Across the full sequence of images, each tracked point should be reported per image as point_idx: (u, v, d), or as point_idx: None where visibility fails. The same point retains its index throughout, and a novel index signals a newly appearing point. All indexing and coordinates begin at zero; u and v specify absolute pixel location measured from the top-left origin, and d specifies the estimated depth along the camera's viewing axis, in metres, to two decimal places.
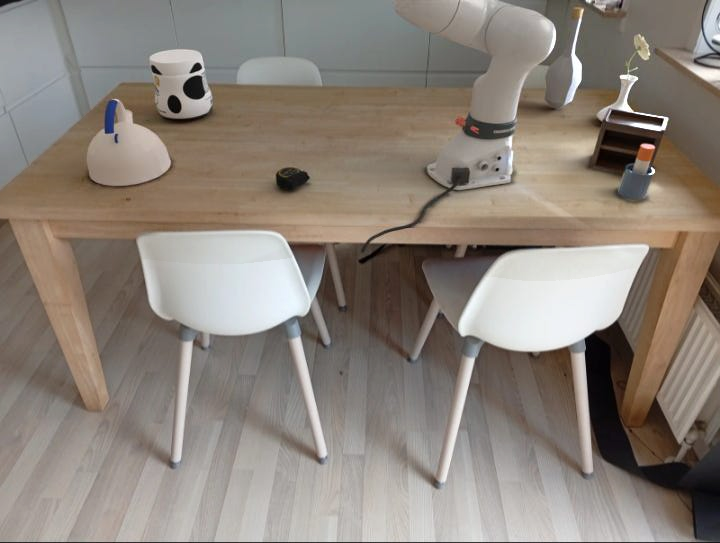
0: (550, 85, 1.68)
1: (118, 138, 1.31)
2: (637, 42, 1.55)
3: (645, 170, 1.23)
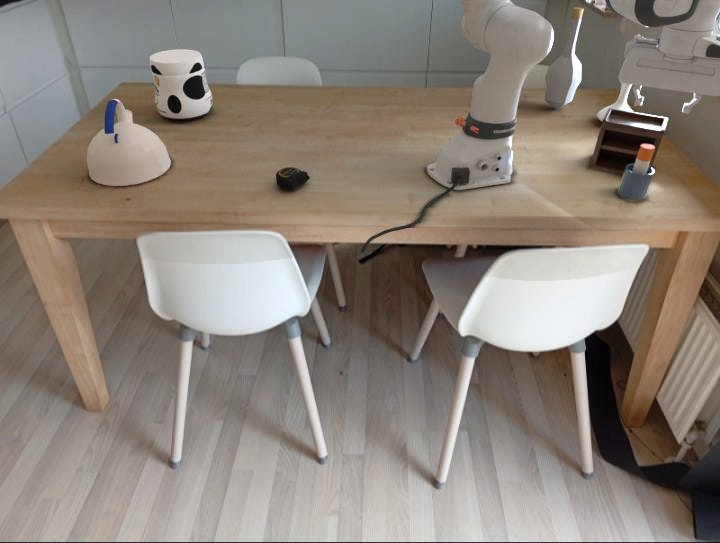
0: (550, 85, 1.68)
1: (118, 138, 1.31)
2: None
3: (645, 170, 1.23)
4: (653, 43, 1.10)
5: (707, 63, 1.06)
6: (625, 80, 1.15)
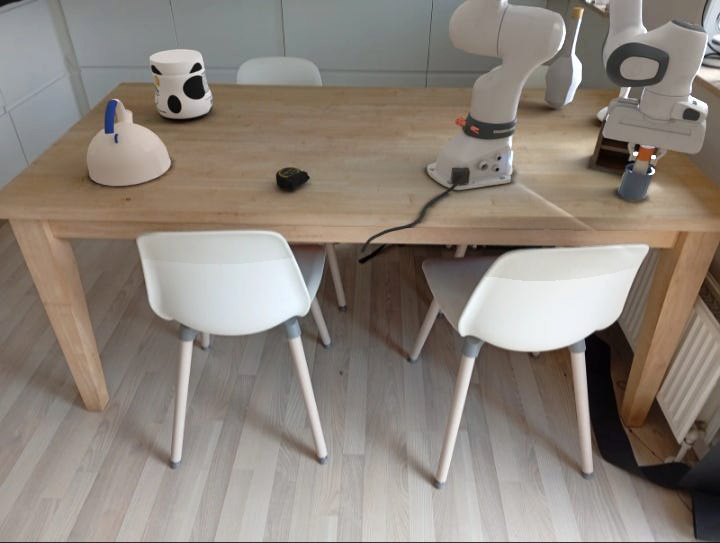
0: (550, 85, 1.68)
1: (118, 138, 1.31)
2: None
3: (645, 170, 1.23)
4: (634, 103, 1.18)
5: (684, 124, 1.13)
6: (609, 135, 1.22)
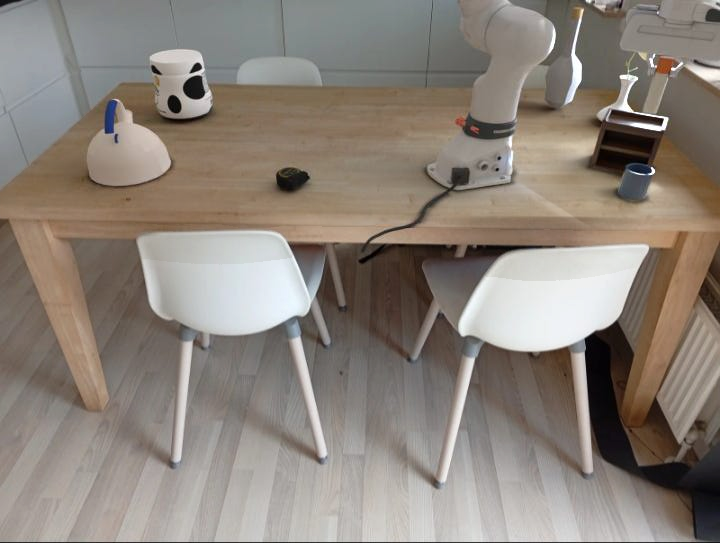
0: (550, 85, 1.68)
1: (118, 138, 1.31)
2: None
3: (664, 84, 1.18)
4: (654, 9, 1.12)
5: (706, 28, 1.08)
6: (626, 47, 1.17)
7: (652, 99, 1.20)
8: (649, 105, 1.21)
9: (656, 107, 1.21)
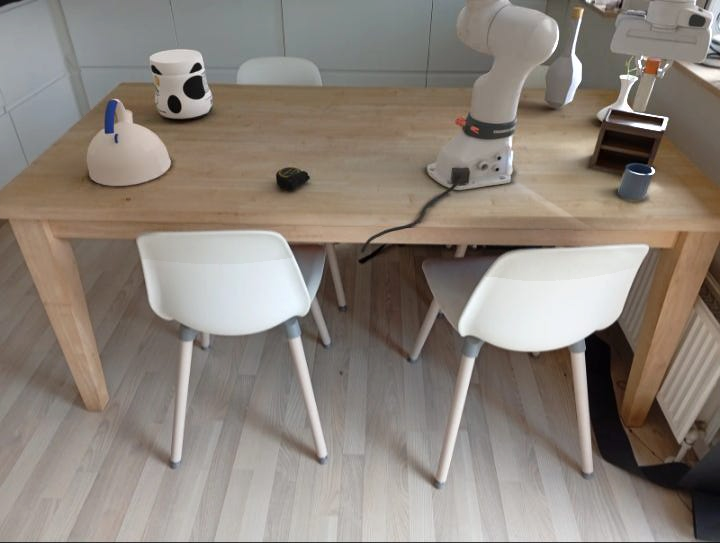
0: (550, 85, 1.68)
1: (118, 138, 1.31)
2: None
3: (651, 84, 1.27)
4: (641, 15, 1.21)
5: (690, 32, 1.17)
6: (616, 49, 1.26)
7: (641, 97, 1.29)
8: (638, 103, 1.30)
9: (644, 106, 1.30)
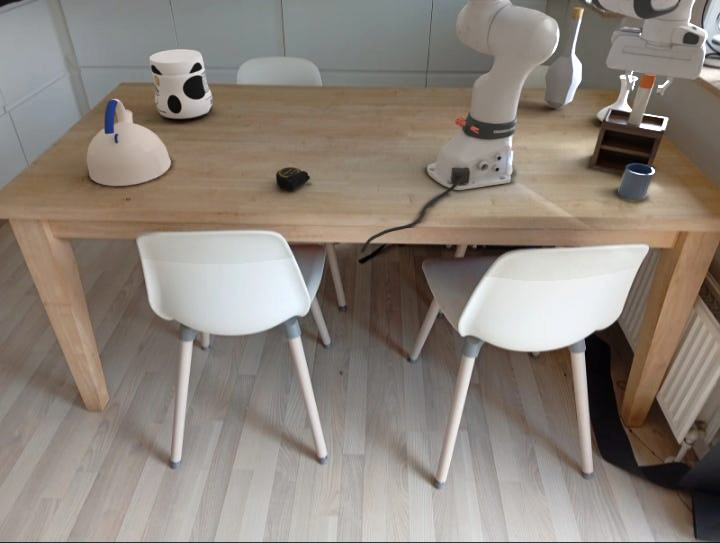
0: (550, 85, 1.68)
1: (118, 138, 1.31)
2: None
3: (647, 98, 1.29)
4: (637, 32, 1.23)
5: (684, 49, 1.19)
6: (612, 65, 1.28)
7: (637, 111, 1.31)
8: (633, 116, 1.32)
9: (640, 119, 1.32)
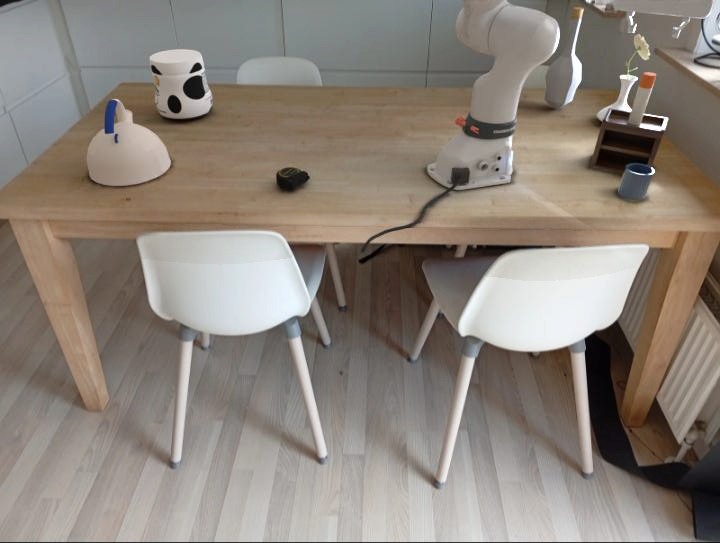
0: (550, 85, 1.68)
1: (118, 138, 1.31)
2: (637, 42, 1.55)
3: (647, 98, 1.29)
4: None
5: None
6: (619, 6, 1.24)
7: (637, 111, 1.31)
8: (633, 116, 1.32)
9: (640, 119, 1.32)
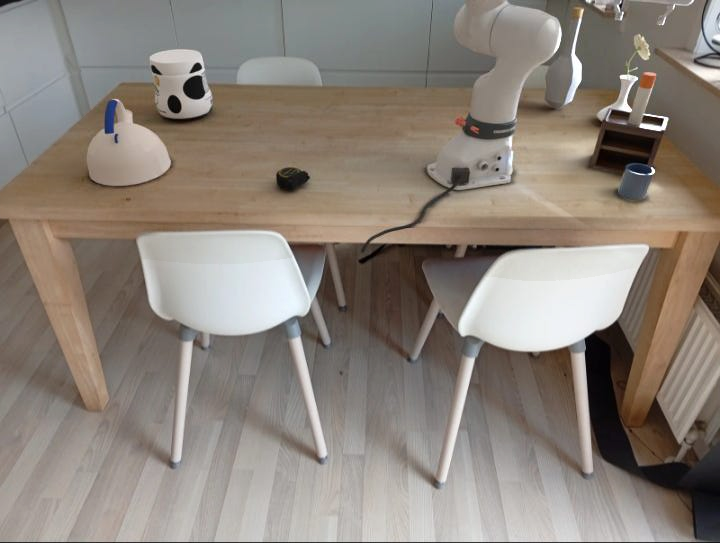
0: (550, 85, 1.68)
1: (118, 138, 1.31)
2: (637, 42, 1.55)
3: (647, 98, 1.29)
4: None
5: None
6: None
7: (637, 111, 1.31)
8: (633, 116, 1.32)
9: (640, 119, 1.32)
